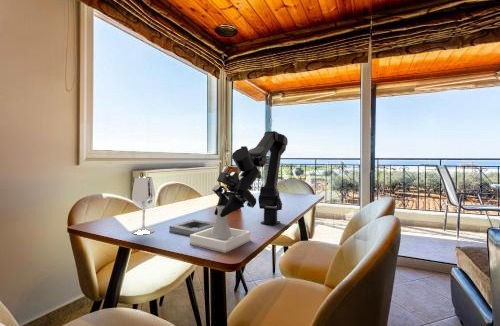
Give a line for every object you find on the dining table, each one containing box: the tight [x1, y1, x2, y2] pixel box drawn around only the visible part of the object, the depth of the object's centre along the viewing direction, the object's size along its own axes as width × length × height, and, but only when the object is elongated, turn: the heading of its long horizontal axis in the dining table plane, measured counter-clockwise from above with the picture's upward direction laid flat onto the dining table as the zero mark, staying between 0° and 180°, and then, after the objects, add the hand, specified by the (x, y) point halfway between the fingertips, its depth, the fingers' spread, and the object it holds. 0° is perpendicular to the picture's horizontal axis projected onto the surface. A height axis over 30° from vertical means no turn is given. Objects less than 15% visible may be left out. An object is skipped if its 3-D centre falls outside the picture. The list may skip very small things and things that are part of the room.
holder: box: [168, 219, 215, 237], centre depth 99 cm, size 13×13×2 cm
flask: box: [210, 205, 232, 240], centre depth 85 cm, size 7×7×10 cm
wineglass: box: [131, 176, 156, 235], centre depth 96 cm, size 8×8×20 cm
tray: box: [189, 227, 252, 254], centre depth 85 cm, size 14×14×3 cm
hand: (218, 215), depth 84 cm, fingers closed on flask, 3 cm apart
